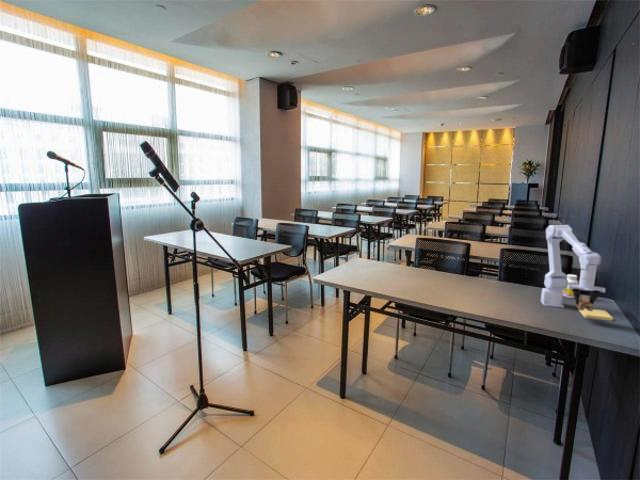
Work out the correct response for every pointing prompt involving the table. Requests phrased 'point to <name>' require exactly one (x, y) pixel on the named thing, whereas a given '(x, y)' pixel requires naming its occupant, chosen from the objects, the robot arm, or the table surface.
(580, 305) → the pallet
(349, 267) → the table surface
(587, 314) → the plate
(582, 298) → the salmon pink square block
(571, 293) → the supplement bottle
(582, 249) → the robot arm
